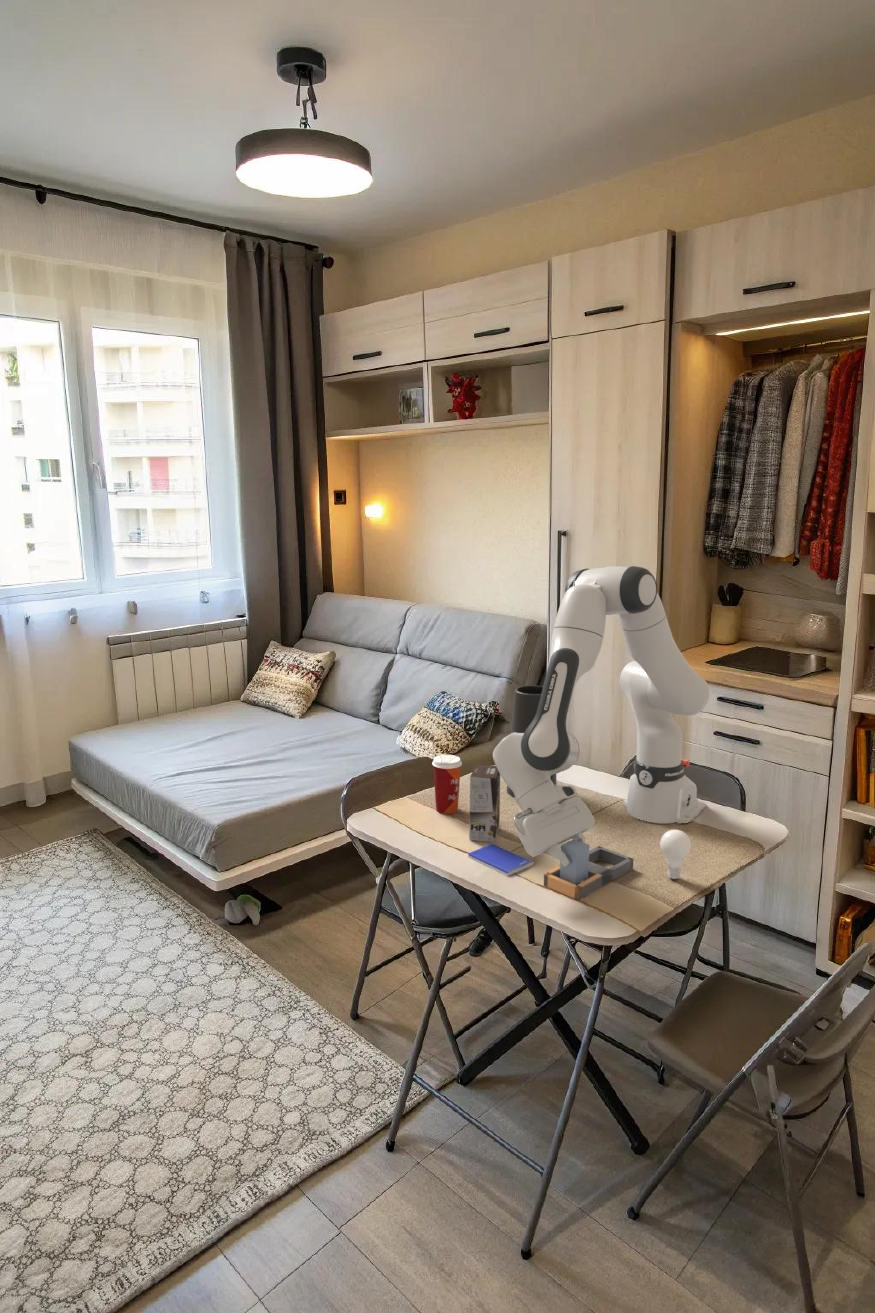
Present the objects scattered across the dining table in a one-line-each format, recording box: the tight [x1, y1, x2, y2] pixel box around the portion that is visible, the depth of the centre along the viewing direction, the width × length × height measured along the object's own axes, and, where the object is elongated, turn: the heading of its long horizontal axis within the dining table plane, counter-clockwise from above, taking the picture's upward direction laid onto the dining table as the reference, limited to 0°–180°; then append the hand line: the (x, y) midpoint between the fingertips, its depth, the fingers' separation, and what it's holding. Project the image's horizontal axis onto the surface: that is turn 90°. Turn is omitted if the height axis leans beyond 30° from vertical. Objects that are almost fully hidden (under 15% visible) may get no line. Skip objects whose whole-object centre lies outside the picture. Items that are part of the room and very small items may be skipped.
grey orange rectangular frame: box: [543, 846, 634, 901], centre depth 179 cm, size 20×9×3 cm, turn 134°
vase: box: [506, 684, 558, 798], centre depth 226 cm, size 14×14×29 cm
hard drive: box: [467, 843, 534, 877], centre depth 187 cm, size 2×8×12 cm
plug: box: [559, 839, 590, 885], centre depth 175 cm, size 4×4×8 cm
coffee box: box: [468, 764, 501, 843], centre depth 200 cm, size 9×6×16 cm
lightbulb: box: [659, 829, 692, 880], centre depth 178 cm, size 6×6×11 cm
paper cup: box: [431, 754, 463, 815], centre depth 215 cm, size 8×8×14 cm
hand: (577, 860), depth 174 cm, fingers closed on plug, 4 cm apart
